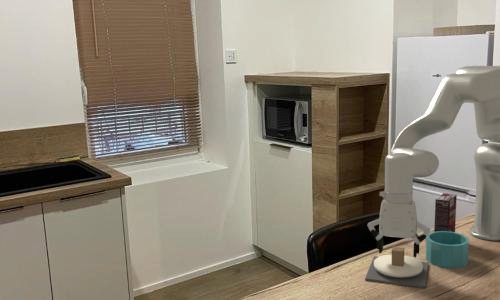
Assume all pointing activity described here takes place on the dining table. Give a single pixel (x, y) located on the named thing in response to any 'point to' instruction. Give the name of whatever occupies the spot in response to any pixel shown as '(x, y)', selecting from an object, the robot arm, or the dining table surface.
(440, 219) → the supplement box
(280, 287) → the dining table surface
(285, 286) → the dining table surface
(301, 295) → the dining table surface
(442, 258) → the bowl
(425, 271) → the mat
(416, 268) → the lid
